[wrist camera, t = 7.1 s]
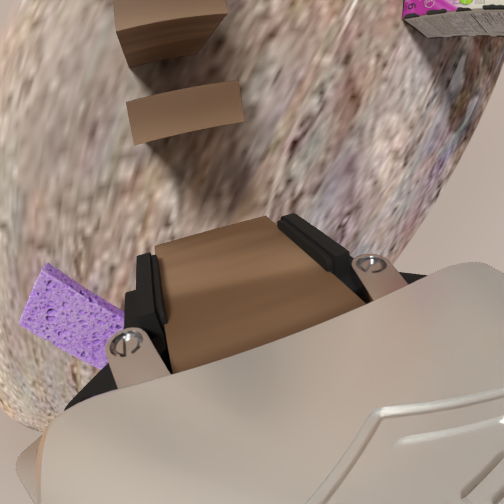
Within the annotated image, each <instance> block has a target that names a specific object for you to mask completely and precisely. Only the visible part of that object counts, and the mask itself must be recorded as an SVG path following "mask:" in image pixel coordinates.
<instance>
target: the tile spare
mask: <svg viewBox="0 0 504 504" xmlns="http://www.w3.org/2000/svg"><path fill="white" fill-rule="evenodd" d="M155 254H156V255H157V258H158V261H159V268H160V276H161V284H162V291H163V298H164V304H165V311H166V317H167V323H168V324H164V326H165V333H166V339H167V345H168V351H169V356H170V362H171V367H172V372H173V374H175V373H179V372H182V371H186V370H189V369H192V368H196V367H199V366H202V365H206V364H209V363H212V362H215V361H218V360H221V359H224V358H228V357H231V356H234V355H237V354H240V353H242V352H245V351H248V350H251V349H254V348H257V347H260V346H263V345H265V344H268V343H271V342H274V341H276V340H279V339H282V338H285V337H287V336H290V335H293V334H295V333H298V332H300V331H303V330H305V329H308V328H311V327H313V326H316V325H318V324H321V323H323V322H326V321H328V320H330V319H333V318H335V317H338V316H340V315H342V314H345V313H347V312H350V311H352V310H354V309H357V308H359V307H361V306H364V305H366V303H365V302H364V301H363V300H361V299H360V298H359V297H358V296H357V295H356V294H355V293H354V292H353V291H352V290H350V289H349V288H348V287H347V286H346V285H345V284H344V283H343V282H341V281H340V280H339V279H338V278H337V277H336V276H335V275H334V274H333V273H331V272H327V271H326V270H324V269H323V268H322V267H321V266H320V265H319V264H318V263H317V262H315V261H314V260H313V259H312V258H311V257H310V256H309V255H308V254H306V253H305V252H304V251H303V250H302V249H301V248H300V247H299V246H297V245H296V244H295V243H294V242H293V241H292V240H291V239H289V238H288V237H287V236H286V235H285V234H284V233H283V232H281V231H280V230H279V229H278V226H277V225H276V224H275V223H274V222H272V221H271V220H270V219H269V218H268V217H267V216H263V217H259V218H255V219H251V220H247V221H243V222H240V223H236V224H232V225H228V226H225V227H221V228H217V229H214V230H210V231H206V232H203V233H199V234H195V235H192V236H188V237H185V238H181V239H177V240H174V241H170V242H167V243H163V244H160V245H156V246H155Z"/></svg>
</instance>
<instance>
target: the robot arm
mask: <svg viewBox="0 0 504 504" xmlns="http://www.w3.org/2000/svg"><path fill="white" fill-rule="evenodd" d="M277 226H278V229H279V230H280V231H281V232H283V233H284V234H285V235H286V236H287V237H288V238H289V239H291V240H292V241H293V242H294V243H295V244H296V245H297V246H299V247H300V248H301V249H302V250H303V251H304V252H305V253H306V254H308V255H309V256H310V257H311V258H312V259H313V260H314V261H315V262H317V263H318V264H319V265H320V266H321V267H322V268H323V269H324V270H326V271H327V272H331V273H333V274H334V275H335V276H336V277H337V278H338V279H339V280H340V281H341V282H343V283H344V284H345V285H346V286H347V287H348V288H349V289H350V290H352V291H353V292H354V293H355V294H356V295H357V296H358V297H359V298H360V299H361V300H363V301H364V302H365V303H366V305H364V306H361V307H359V308H357V309H354V310H352V311H350V312H347V313H345V314H342V315H340V316H338V317H335V318H333V319H330V320H328V321H326V322H323V323H321V324H318V325H316V326H313V327H311V328H308V329H305V330H303V331H300V332H298V333H295V334H293V335H290V336H287V337H285V338H282V339H279V340H276V341H274V342H271V343H268V344H265V345H263V346H260V347H257V348H254V349H251V350H248V351H245V352H242V353H240V354H237V355H234V356H231V357H228V358H224V359H221V360H218V361H215V362H212V363H209V364H206V365H202V366H199V367H196V368H192V369H189V370H186V371H182V372H179V373H175V374H173V372H172V367H171V362H170V356H169V351H168V345H167V339H166V333H165V326H164V324H168V323H167V317H166V311H165V304H164V298H163V291H162V284H161V276H160V268H159V261H158V258H157V255H156V254H155V255H152V256H151V253H150V252H149V253H146V254H142V255H139V256H137V264H136V290H133V291H130V292H127V293H126V294H125V310H124V329H123V330H120V331H119V332H117V333H115V334H114V335H113V336H112V337H111V338H110V339H109V340H108V342H107V343H106V346H105V353H106V356H107V359H108V363H107V364H106V365H105V366H104V367H103V368H102V369H101V371H100V372H99V373H98V374H97V375H96V376H95V377H94V378H93V379H92V380H91V381H90V382H89V383H88V384H87V385H86V386H85V387H84V388H83V389H82V390H81V391H80V392H79V393H78V394H77V395H76V396H75V397H74V398H73V399H72V400H71V401H70V402H69V404H68V405H67V406H66V408H65V410H64V411H63V412H62V413H61V414H59V415H58V416H57V417H55V418H54V419H53V420H52V421H51V422H50V423H49V424H48V426H47V427H46V429H45V431H44V433H43V435H41V437H39V438H38V439H37V440H36V441H35V442H34V443H32V444H31V445H30V446H29V447H28V448H27V449H26V450H24V451H23V452H22V453H21V454H20V456H19V457H18V459H17V462H16V471H17V474H18V477H19V478H20V480H21V482H22V484H23V486H24V487H25V489H26V491H27V492H28V494H29V496H30V497H31V499H32V500H33V502H34V504H504V273H502V272H501V271H499V270H497V269H495V268H493V267H492V266H490V265H487V264H485V263H480V262H468V263H460V264H456V265H452V266H449V267H446V268H444V269H441V270H439V271H437V272H435V273H432V274H430V275H419V274H411V273H402V272H398V271H397V270H396V269H395V267H394V266H393V265H392V264H391V263H390V261H389V260H387V259H386V258H385V257H383V256H380V255H376V254H363V255H359V256H357V257H355V258H352V257H351V256H350V255H349V251H348V250H346V249H345V248H344V247H342V246H341V245H339V244H338V243H337V242H335V241H334V240H332V239H331V238H330V237H328V236H327V235H325V234H324V233H322V232H321V231H320V230H318V229H317V228H315V227H314V226H312V225H311V224H310V223H308V222H307V221H305V220H304V219H302V218H301V217H299V216H298V215H297V214H295V213H293V214H289V215H285V216H282V217H281V220H279V221H278V222H277Z"/></svg>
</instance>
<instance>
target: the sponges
mask: <svg viewBox="0 0 504 504" xmlns="http://www.w3.org/2000/svg"><path fill="white" fill-rule="evenodd" d="M19 325H20V326H22V327H24V328H26V329H27V330H29V331H31V332H33V333H34V334H35V335H37V336H39V337H41V338H43V339H45V340H50V341H51V342H52V344H53V345H55V346H57V347H58V348H60V349H61V350H63V351H65V352H68V353H70V354H71V355H72V356H75V357H77V358H78V359H80V360H82V361H84V362H86V363H88V364H90V365H92V366H94V367H96V368H98V369H100V370H101V369H102V368H103V367H104V366H105V365H106V364H107V363H108V359H107V356H106V353H105V346H106V343H107V342H108V340H109V339H110V338H111V337H112V336H113V335H114V334H115V333H117V332H119V331H120V330H123V329H124V311H122V310H120V309H119V308H117V307H116V306H114V305H112V304H110V303H109V302H107V301H105V300H104V299H102V298H100V297H99V296H97V295H96V294H94V293H92V292H91V291H89V290H88V289H85V288H84V287H82V286H81V285H80V284H79V283H77V282H75V281H74V280H73V279H71V278H70V277H68V276H67V275H65V274H64V273H62V272H61V271H59V270H58V269H57V268H55V267H53V266H52V265H50V264H49V263H46V265H45V266H44V268H43V269H42V270H41V273H40V275H39V277H38V278H37V280H36V282H35V285H34V287H33V289H32V292H31V295H30V296H29V299H28V301H27V304H26V306H25V309H24V311H23V314H22V316H21V319H20V322H19Z"/></svg>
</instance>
